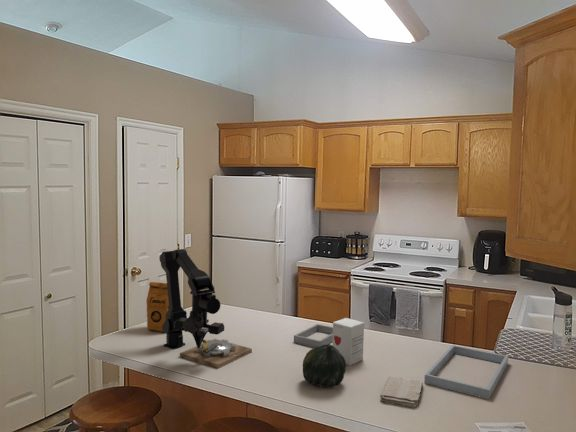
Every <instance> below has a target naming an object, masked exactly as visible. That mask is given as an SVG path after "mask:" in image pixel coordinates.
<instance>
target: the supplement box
mask: <svg viewBox="0 0 576 432" xmlns="http://www.w3.org/2000/svg"><path fill="white" fill-rule="evenodd" d="M332 327H333V341H332V344H331V345H332V346H334V347H335V348H336V349H337V350H338V351H339V352H340V353H341V354H342V356H343V357H344V359H345V361H346V366H352V365H354V364H356V363H358V362H361V361H362V360H363V359H364V337H365V336H364V334H365V322H364V321H359V320H357V319H352V318H349V317H344V318H341V319H339V320H336V321H333V323H332Z"/></svg>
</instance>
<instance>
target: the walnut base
mask: <svg viewBox="0 0 576 432" xmlns="http://www.w3.org/2000/svg"><path fill="white" fill-rule="evenodd" d="M210 340H211V341H216V340H218V339H217V338H213V339H210ZM219 340H220V339H219ZM221 340H222V339H221ZM221 340H220V341H221ZM230 343H231V342H230ZM202 344H203V343H202ZM202 344H201V345H202ZM231 344H233V343H231ZM234 344H235V345H236V351H231V352H230V353H229V356H225V357H223V356H211V357H210V358H209V357H204V354H202V353H201V352H198V353H197V345H196V346H194V347H191V348H189V349H186V350H184V351H181V352H179V357H180V358H182V359H186V360H190V361H193V362H195V363H198V364H203V365H205V364H206V366H209V367H213V368H215V369H221V368H222V367H225V366H226V365H228V364H230V363H233V362H234V361H235V362H236V361H237V360H239V359H241V358H243V357H245V356H247V355H249V354H251V353H253V348H251V347H247V346H243V345H241V344H236V343H234Z"/></svg>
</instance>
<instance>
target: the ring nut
mask: <svg viewBox="0 0 576 432" xmlns="http://www.w3.org/2000/svg"><path fill="white" fill-rule="evenodd" d="M211 340H212V339H203V341H202V345H201V346H200V348H197V353H198V352H201V353H202V354H204V357H209V358H210V357H211V356H223V357H225V356H229V353H230V352H231V351H236V345H237V344H236V343H232V344H231V342H229V339H221V341H220V339H217V340H216V341H211ZM235 344H236V345H235Z"/></svg>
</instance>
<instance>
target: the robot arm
mask: <svg viewBox="0 0 576 432" xmlns="http://www.w3.org/2000/svg"><path fill="white" fill-rule="evenodd" d="M159 263H160V266H161V269H162V270H163V271H164V272H165V276H166V283H167V289H168V300H169V309H168V311H167V314H166V321H165V322H164V324H163V326H162V330H163V332H162V333H165V334H166V339H165V340H166V343H164V344H163V347H167V348H170V349H174V350H175V349H178V348H181V347H182V346H185V345H186V343H185V342H184V335H183V331H184V332H185V333H190V334H191V335H192V337H193V339H194V342H195V345H196V346H197V348H200V346H201V344H203V340H205V338H206V336H207V333H208V334H210V335H220V334H221V333H222V332H224V331H225V325H224V323H223V322H213V323H211V324H209V321H210V320H209V319H208V314H211V315H215V314H217V313H218V312H219V311H220V309H221V302H220V300H219V299H218V298H217V296H216V294H215V293H216V291H215V287H214V284H213V282H212V280H211V279H212V278H211V277H210V276H209V274H208V273H206V272H205V271H203V269H202V270H201V269H199V268H198V267H197V265H196V264H195V262H194V261H193V260H192V259H191V257H190V256H189V254H188V251H187V249H183V248H182V249H181V248H179V249H174V250H167V251H162V252H161V254H160V255H159ZM180 269H182V271H183V273H184V274H185V275H186V276H187V284H188V287H189V289H190V290H191V291H190V292H189V294H190V295H192V298H191V299H192V301H191V310H190V311H189V316H188V317H187V315H188V313H187V310H185V309H184V308H183V307H182V300H181V290H180V281H179V280H180V279H179V278H180V277H179V271H180Z"/></svg>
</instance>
